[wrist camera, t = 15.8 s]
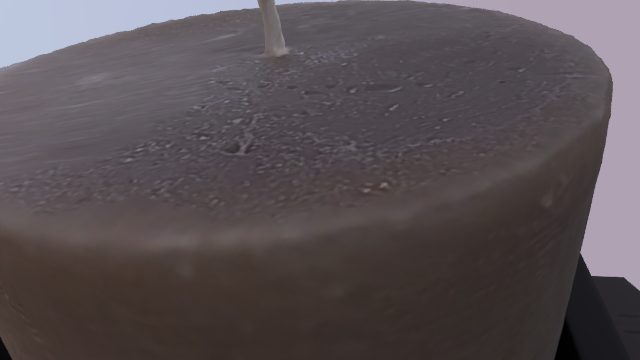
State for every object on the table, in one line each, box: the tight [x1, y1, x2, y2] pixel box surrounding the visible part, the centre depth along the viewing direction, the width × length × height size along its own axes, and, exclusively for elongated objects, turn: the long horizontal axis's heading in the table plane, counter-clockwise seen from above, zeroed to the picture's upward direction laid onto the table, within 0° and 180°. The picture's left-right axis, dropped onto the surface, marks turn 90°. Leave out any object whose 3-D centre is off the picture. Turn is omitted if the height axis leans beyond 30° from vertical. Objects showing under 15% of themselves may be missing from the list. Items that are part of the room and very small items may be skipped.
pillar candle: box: [0, 0, 613, 360], centre depth 11 cm, size 10×10×15 cm
